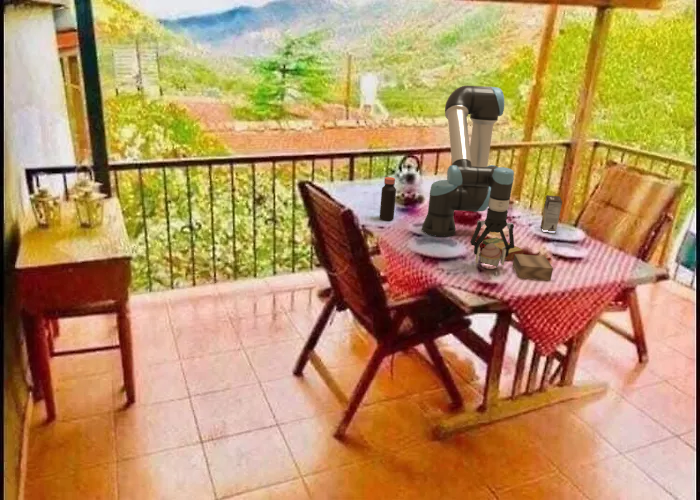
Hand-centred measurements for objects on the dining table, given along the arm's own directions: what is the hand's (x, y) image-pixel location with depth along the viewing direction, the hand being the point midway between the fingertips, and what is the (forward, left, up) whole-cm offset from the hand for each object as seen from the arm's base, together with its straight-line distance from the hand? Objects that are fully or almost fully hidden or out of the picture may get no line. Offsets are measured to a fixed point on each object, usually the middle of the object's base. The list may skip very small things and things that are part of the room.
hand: (489, 262), depth 223 cm
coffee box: (+36, +50, -2) cm, 62 cm away
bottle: (-41, +49, -2) cm, 64 cm away
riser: (+16, -3, -2) cm, 16 cm away
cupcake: (0, 0, -2) cm, 2 cm away
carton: (+8, +16, -2) cm, 18 cm away
